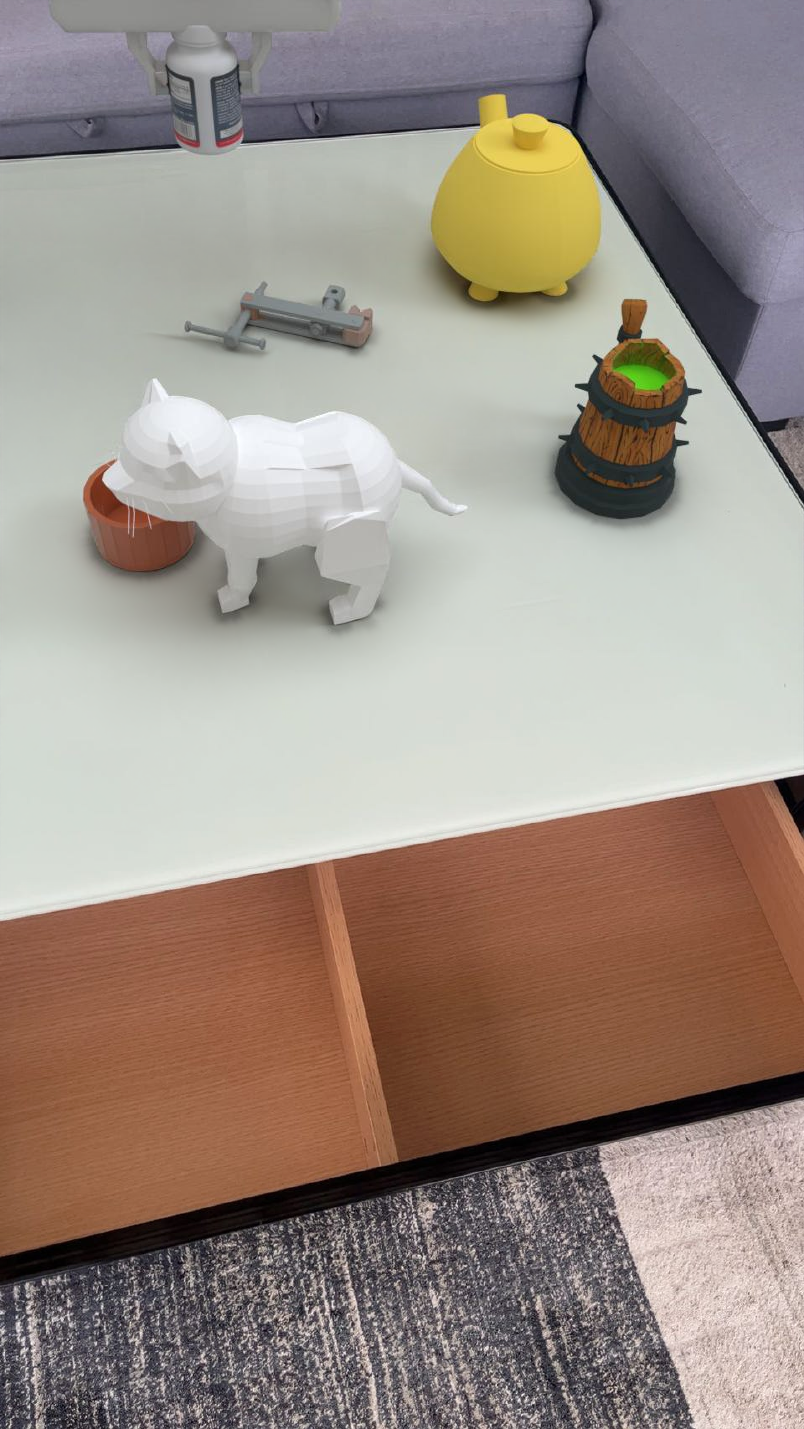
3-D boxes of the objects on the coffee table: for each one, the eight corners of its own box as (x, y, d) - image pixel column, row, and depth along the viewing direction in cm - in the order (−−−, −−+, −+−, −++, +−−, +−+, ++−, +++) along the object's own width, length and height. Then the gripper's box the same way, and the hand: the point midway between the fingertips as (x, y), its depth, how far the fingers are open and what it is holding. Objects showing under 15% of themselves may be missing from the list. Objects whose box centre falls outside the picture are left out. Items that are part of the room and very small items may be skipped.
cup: (80, 562, 78) (67, 518, 74) (114, 492, 82) (103, 447, 78) (178, 579, 77) (170, 535, 73) (207, 508, 81) (201, 463, 78)
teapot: (404, 203, 107) (412, 55, 95) (553, 194, 109) (578, 49, 97) (447, 325, 96) (461, 175, 84) (611, 312, 98) (647, 164, 87)
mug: (685, 524, 83) (730, 404, 73) (555, 518, 82) (583, 398, 73) (663, 413, 90) (702, 292, 81) (544, 408, 90) (568, 285, 80)
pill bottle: (243, 122, 84) (235, -3, 77) (244, 157, 82) (235, 31, 74) (175, 122, 84) (161, -4, 77) (174, 157, 81) (158, 29, 74)
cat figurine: (439, 499, 83) (459, 312, 69) (483, 598, 77) (513, 416, 64) (116, 557, 78) (68, 368, 64) (138, 667, 73) (91, 486, 59)
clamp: (382, 289, 94) (349, 356, 89) (381, 310, 96) (349, 378, 91) (222, 256, 96) (180, 320, 91) (225, 278, 98) (184, 342, 92)
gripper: (14, -117, 65) (61, 114, 77) (345, -112, 68) (343, 111, 79) (20, -155, 69) (64, 71, 80) (335, -149, 71) (334, 69, 83)
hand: (205, 91), depth 80 cm, fingers closed on pill bottle, 5 cm apart
